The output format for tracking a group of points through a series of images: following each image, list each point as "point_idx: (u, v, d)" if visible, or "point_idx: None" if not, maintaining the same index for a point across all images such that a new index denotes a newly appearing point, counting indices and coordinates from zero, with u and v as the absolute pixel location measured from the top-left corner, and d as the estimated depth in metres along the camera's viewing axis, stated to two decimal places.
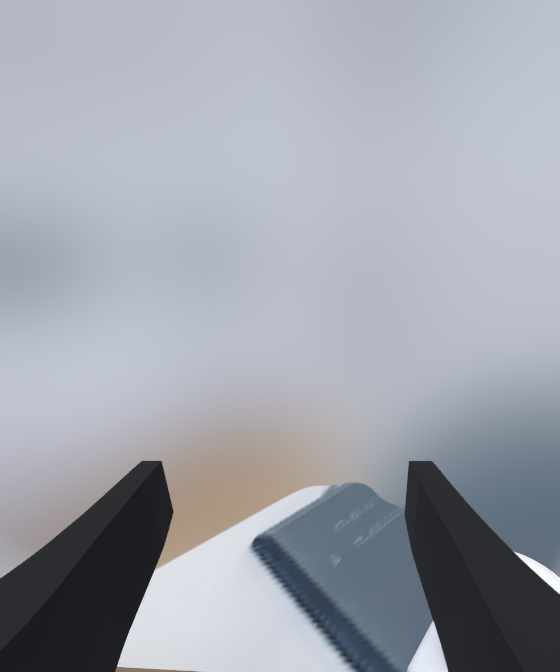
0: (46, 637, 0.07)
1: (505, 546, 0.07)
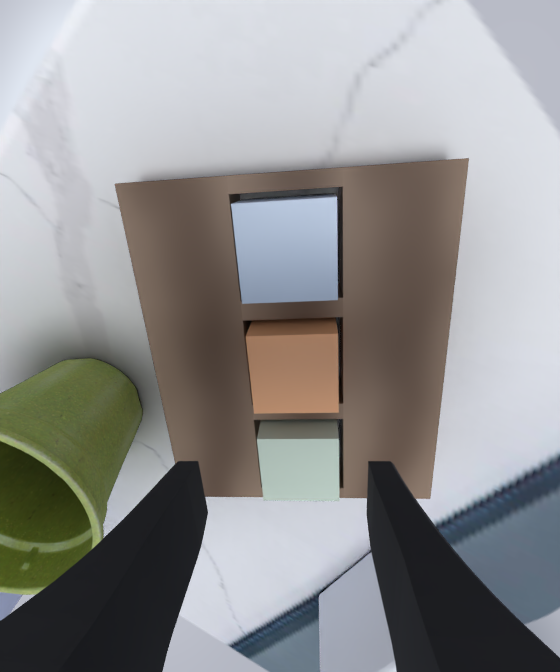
0: (107, 640, 0.07)
1: (446, 545, 0.07)
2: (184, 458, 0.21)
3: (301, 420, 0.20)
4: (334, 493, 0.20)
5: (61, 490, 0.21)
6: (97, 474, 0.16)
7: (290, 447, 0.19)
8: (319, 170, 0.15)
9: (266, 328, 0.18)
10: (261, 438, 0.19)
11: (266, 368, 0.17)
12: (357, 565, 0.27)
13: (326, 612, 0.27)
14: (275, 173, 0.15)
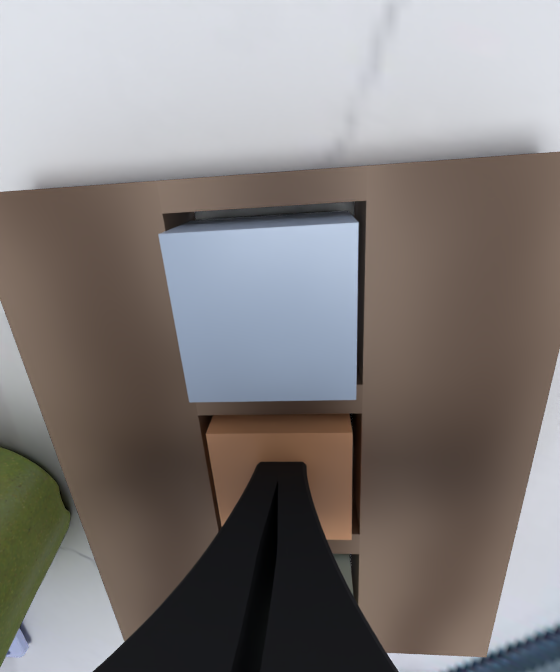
0: (246, 646, 0.06)
1: (322, 542, 0.08)
2: (122, 596, 0.14)
3: None
4: None
5: None
6: None
7: None
8: (324, 171, 0.08)
9: (240, 415, 0.11)
10: None
11: (240, 478, 0.11)
12: None
13: None
14: (243, 176, 0.08)
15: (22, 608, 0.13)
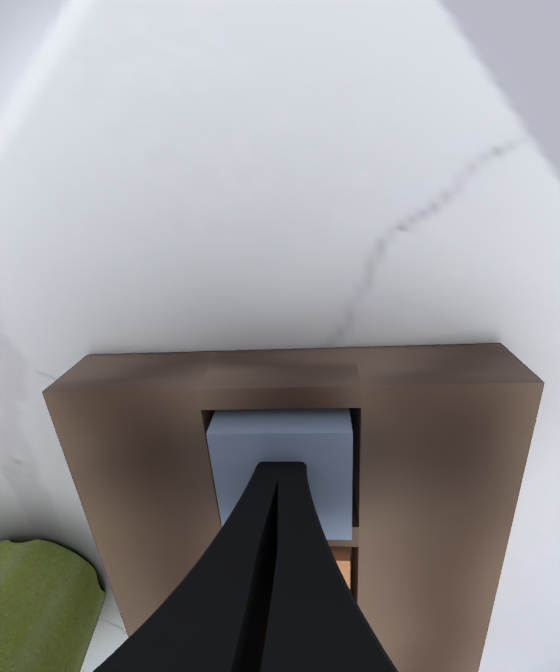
0: (246, 646, 0.06)
1: (322, 542, 0.08)
2: None
3: None
4: None
5: None
6: None
7: None
8: (328, 387, 0.11)
9: None
10: None
11: None
12: None
13: None
14: (265, 389, 0.11)
15: None
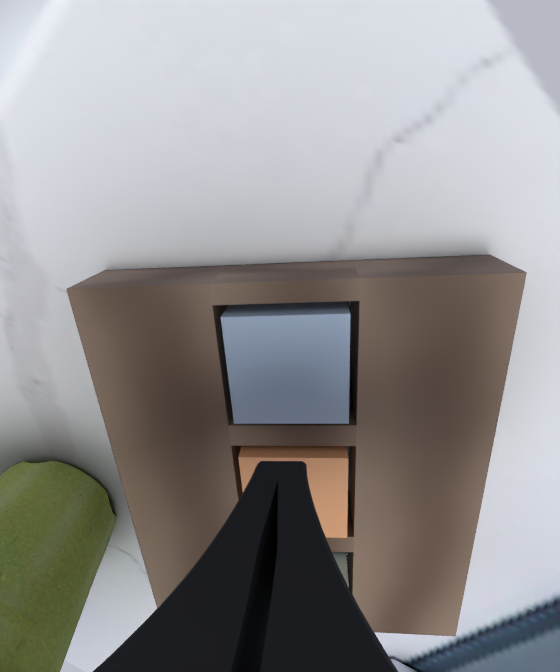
0: (246, 646, 0.06)
1: (322, 542, 0.08)
2: (162, 584, 0.18)
3: None
4: None
5: None
6: (44, 654, 0.13)
7: None
8: (329, 281, 0.12)
9: None
10: None
11: None
12: None
13: None
14: (272, 283, 0.12)
15: (86, 592, 0.16)
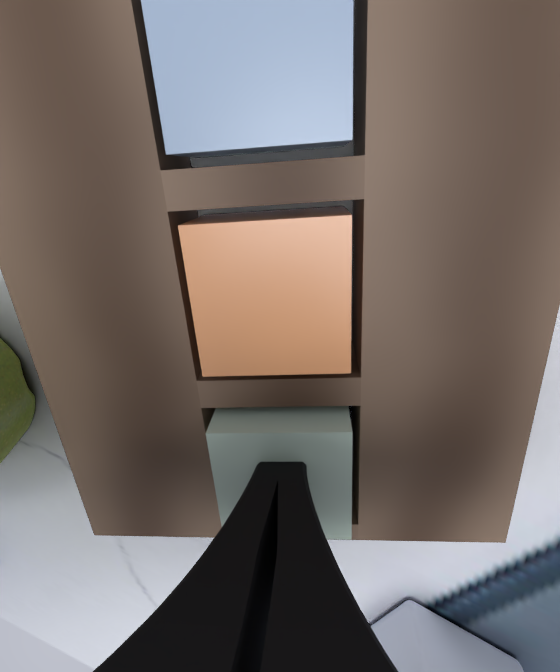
0: (245, 647, 0.06)
1: (322, 542, 0.08)
2: (89, 474, 0.13)
3: None
4: (343, 525, 0.12)
5: None
6: None
7: (265, 447, 0.11)
8: None
9: (220, 219, 0.10)
10: (213, 432, 0.11)
11: (219, 290, 0.10)
12: (374, 628, 0.18)
13: None
14: None
15: None
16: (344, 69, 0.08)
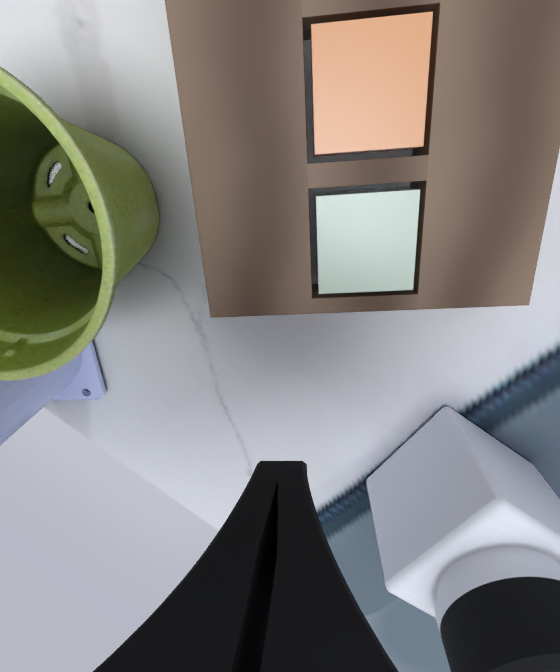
0: (246, 646, 0.06)
1: (322, 542, 0.08)
2: (215, 256, 0.17)
3: (366, 190, 0.16)
4: (408, 276, 0.16)
5: (58, 297, 0.17)
6: (108, 192, 0.12)
7: (357, 207, 0.15)
8: None
9: None
10: (321, 195, 0.15)
11: (335, 77, 0.14)
12: (416, 434, 0.22)
13: (379, 491, 0.22)
14: None
15: (139, 234, 0.15)
16: None
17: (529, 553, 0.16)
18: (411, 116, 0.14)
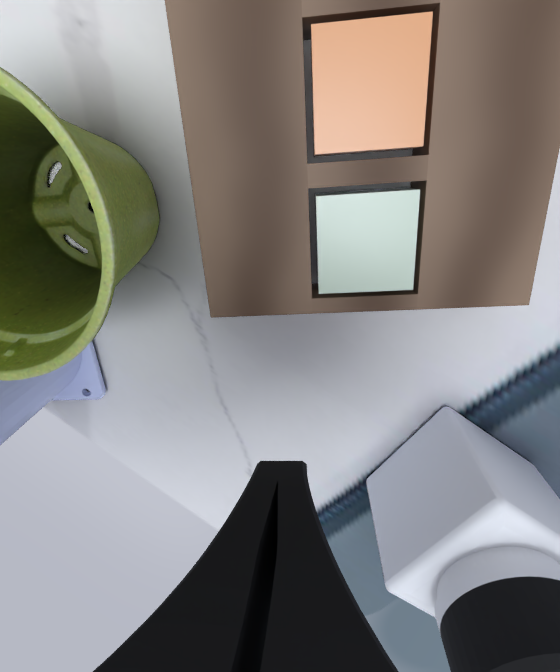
0: (246, 646, 0.06)
1: (322, 542, 0.08)
2: (215, 256, 0.17)
3: (366, 190, 0.16)
4: (408, 276, 0.16)
5: (57, 297, 0.17)
6: (107, 192, 0.12)
7: (357, 207, 0.15)
8: None
9: None
10: (321, 195, 0.15)
11: (334, 77, 0.14)
12: (416, 434, 0.22)
13: (379, 491, 0.22)
14: None
15: (138, 234, 0.15)
16: None
17: (529, 553, 0.16)
18: (411, 116, 0.14)
